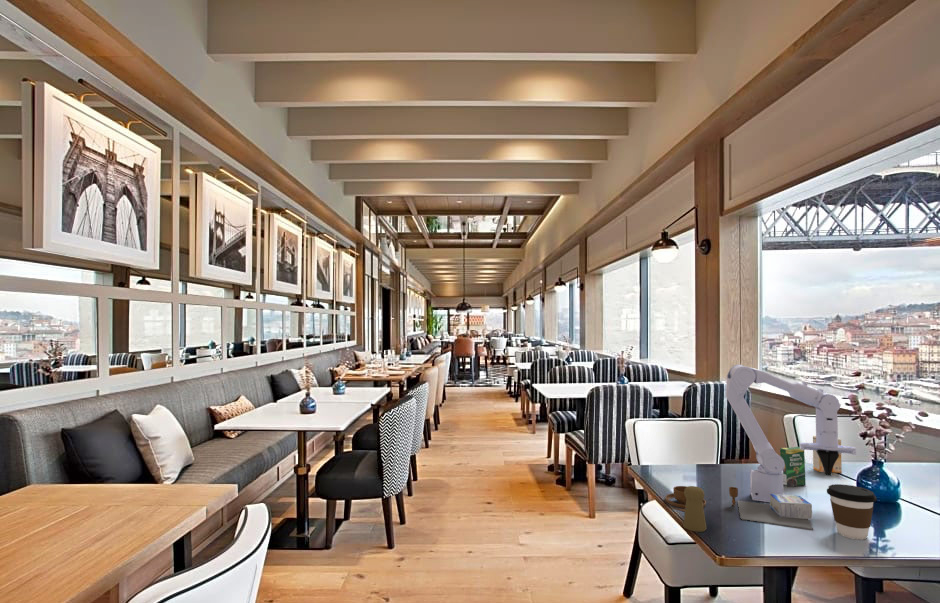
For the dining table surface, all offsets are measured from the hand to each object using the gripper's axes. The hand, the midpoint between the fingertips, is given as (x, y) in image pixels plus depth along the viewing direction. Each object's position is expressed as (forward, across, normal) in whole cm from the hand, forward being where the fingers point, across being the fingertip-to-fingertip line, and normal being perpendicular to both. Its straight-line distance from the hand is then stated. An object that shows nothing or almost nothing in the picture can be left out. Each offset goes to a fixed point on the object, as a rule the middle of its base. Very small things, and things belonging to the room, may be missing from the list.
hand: (827, 474), depth 162 cm
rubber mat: (+9, -17, -18) cm, 26 cm away
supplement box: (+10, +8, +46) cm, 48 cm away
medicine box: (+7, -8, -14) cm, 18 cm away
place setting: (+10, -37, -18) cm, 43 cm away
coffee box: (+10, -7, +19) cm, 22 cm away
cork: (+10, -38, -38) cm, 55 cm away
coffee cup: (+10, +1, -25) cm, 27 cm away
